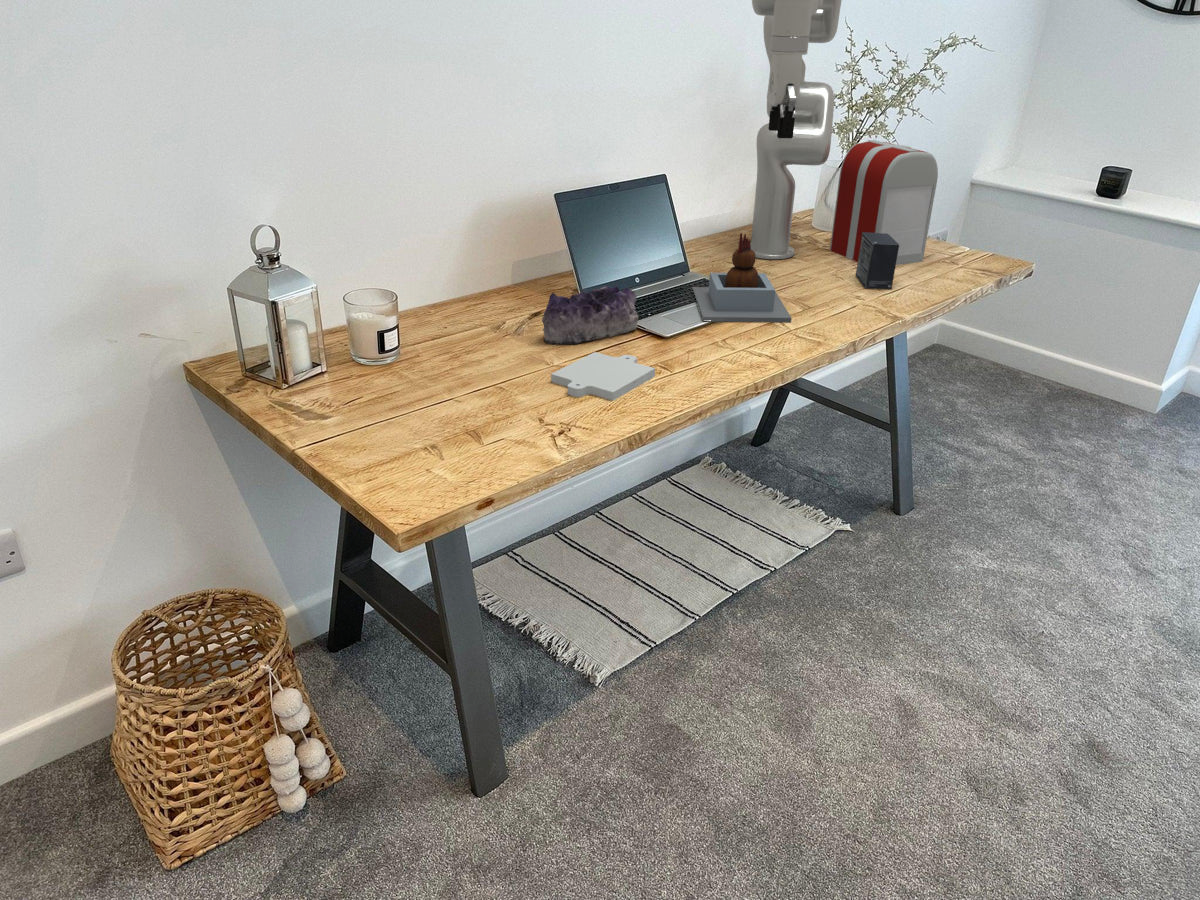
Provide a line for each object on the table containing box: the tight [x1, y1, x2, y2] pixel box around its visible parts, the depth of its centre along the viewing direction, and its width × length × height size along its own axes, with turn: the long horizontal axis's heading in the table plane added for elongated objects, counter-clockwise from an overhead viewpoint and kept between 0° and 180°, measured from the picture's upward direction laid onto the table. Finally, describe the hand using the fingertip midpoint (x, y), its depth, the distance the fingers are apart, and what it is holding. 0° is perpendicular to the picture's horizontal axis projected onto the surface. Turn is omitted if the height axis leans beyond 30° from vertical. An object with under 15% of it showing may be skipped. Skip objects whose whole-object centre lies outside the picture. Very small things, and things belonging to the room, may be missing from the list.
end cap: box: [692, 272, 792, 323], centre depth 196 cm, size 20×18×6 cm
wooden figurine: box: [725, 232, 759, 288], centre depth 194 cm, size 7×6×15 cm
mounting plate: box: [550, 351, 656, 401], centre depth 161 cm, size 18×13×2 cm
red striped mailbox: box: [829, 139, 939, 266], centre depth 229 cm, size 17×18×27 cm
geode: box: [541, 286, 639, 346], centre depth 179 cm, size 20×12×10 cm, turn 128°
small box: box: [855, 232, 899, 290], centre depth 212 cm, size 11×6×10 cm, turn 179°
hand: (780, 134), depth 195 cm, fingers open, 9 cm apart
